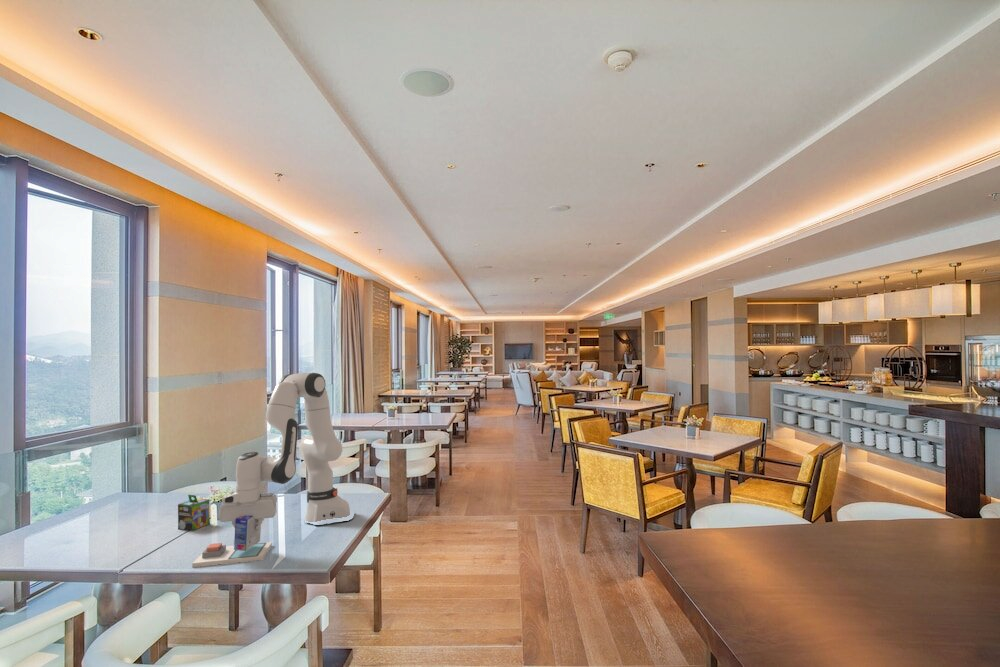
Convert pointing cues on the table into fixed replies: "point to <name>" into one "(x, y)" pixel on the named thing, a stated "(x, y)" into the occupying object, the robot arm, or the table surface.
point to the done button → (214, 547)
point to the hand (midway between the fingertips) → (248, 530)
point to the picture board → (232, 555)
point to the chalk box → (193, 514)
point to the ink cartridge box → (246, 533)
